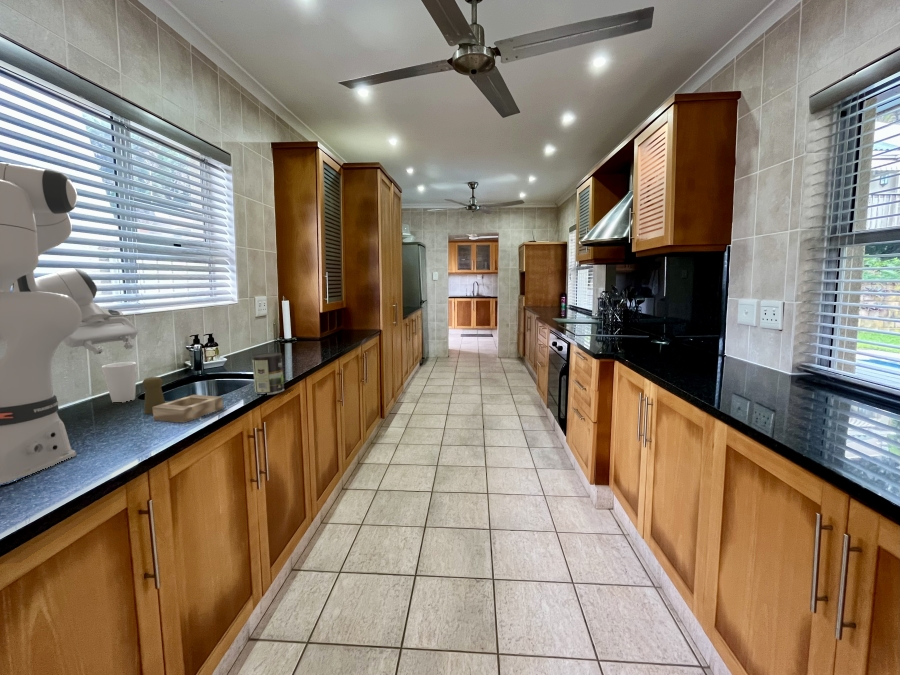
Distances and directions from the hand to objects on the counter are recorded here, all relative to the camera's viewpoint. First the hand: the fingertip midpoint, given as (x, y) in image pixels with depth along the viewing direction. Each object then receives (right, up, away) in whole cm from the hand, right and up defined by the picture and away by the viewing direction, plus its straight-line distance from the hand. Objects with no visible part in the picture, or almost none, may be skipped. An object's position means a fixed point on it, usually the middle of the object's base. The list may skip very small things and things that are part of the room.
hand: (115, 350), depth 132 cm
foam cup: (-7, -18, +12) cm, 23 cm away
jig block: (+27, -20, -5) cm, 34 cm away
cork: (+14, -20, -1) cm, 24 cm away
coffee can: (+41, -16, +21) cm, 49 cm away
